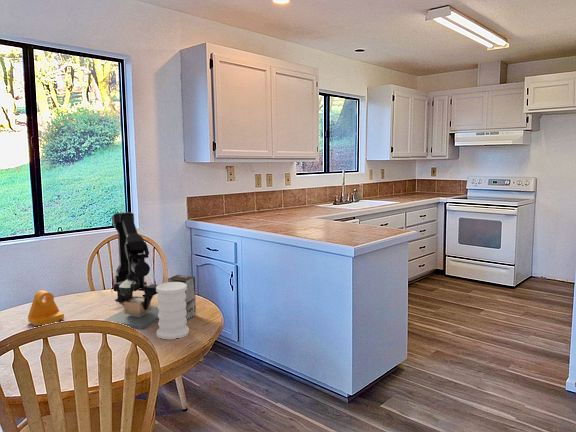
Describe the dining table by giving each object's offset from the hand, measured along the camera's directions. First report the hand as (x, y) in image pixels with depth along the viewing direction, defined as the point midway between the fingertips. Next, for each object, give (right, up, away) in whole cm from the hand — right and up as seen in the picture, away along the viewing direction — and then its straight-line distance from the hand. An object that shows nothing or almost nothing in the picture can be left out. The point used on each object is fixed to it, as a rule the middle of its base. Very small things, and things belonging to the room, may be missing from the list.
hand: (138, 308), depth 179 cm
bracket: (-34, -4, -5) cm, 35 cm away
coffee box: (+17, -4, +2) cm, 18 cm away
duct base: (0, -4, 0) cm, 4 cm away
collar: (0, -1, 0) cm, 1 cm away
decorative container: (+18, -6, -15) cm, 25 cm away
